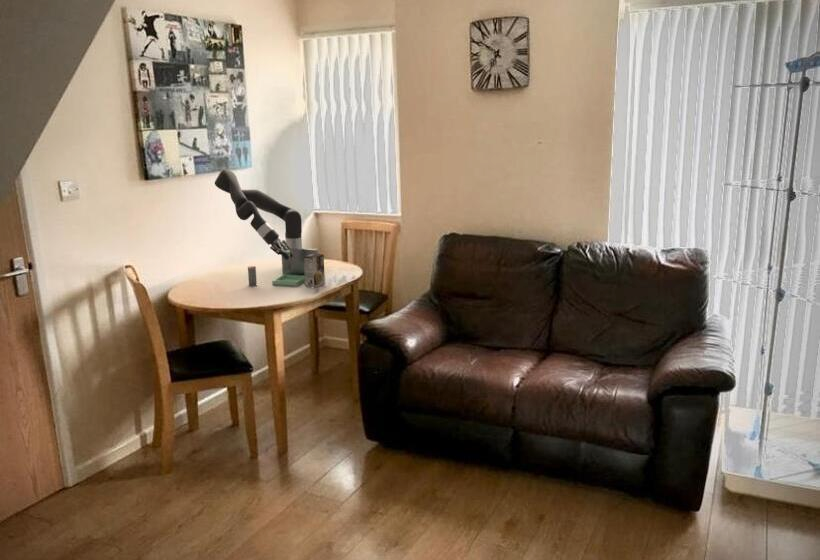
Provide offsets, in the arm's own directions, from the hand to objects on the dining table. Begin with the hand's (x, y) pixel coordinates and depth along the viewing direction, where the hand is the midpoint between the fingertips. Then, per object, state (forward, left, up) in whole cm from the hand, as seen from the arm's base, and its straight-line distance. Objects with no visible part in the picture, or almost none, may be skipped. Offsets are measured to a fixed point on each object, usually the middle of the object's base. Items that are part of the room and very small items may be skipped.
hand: (289, 257), depth 350 cm
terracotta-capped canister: (+8, -18, -14) cm, 24 cm away
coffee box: (+1, +14, -14) cm, 20 cm away
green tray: (-1, -1, -14) cm, 14 cm away
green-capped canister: (0, -2, -7) cm, 7 cm away
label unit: (-13, 0, -14) cm, 19 cm away
